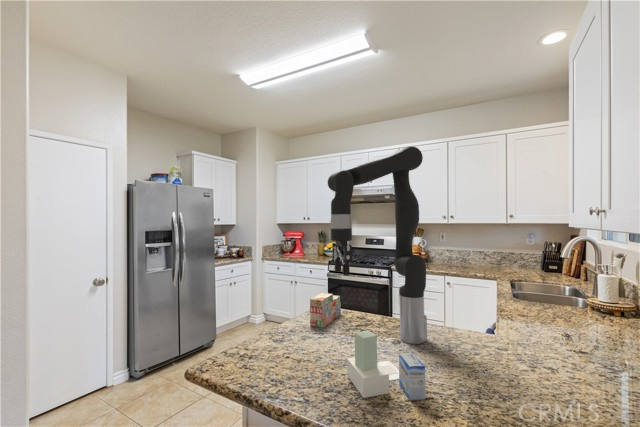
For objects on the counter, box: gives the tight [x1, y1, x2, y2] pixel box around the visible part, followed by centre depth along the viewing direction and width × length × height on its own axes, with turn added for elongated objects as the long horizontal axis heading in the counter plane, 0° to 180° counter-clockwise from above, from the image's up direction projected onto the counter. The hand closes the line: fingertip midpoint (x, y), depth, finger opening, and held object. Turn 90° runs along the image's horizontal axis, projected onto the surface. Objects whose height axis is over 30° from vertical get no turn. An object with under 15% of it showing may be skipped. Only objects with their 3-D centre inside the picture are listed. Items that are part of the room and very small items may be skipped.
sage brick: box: [354, 329, 378, 371], centre depth 84 cm, size 4×4×9 cm
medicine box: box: [398, 352, 427, 401], centre depth 80 cm, size 8×4×9 cm, turn 5°
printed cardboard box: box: [309, 292, 342, 328], centre depth 141 cm, size 21×6×12 cm, turn 154°
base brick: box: [346, 356, 390, 399], centre depth 84 cm, size 8×12×5 cm, turn 15°
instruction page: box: [377, 360, 399, 382], centre depth 91 cm, size 8×11×1 cm
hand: (341, 273), depth 104 cm, fingers open, 8 cm apart
